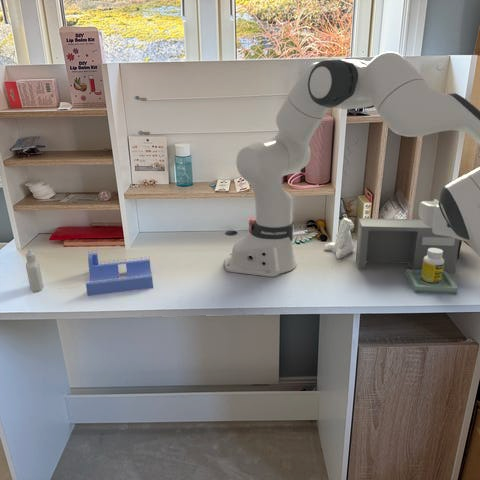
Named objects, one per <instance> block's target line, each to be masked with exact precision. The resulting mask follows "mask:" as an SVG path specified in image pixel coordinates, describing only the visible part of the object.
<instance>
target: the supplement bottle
mask: <svg viewBox="0 0 480 480" xmlns="http://www.w3.org/2000/svg"><path fill="white" fill-rule="evenodd" d="M442 256H443V250H441V249H438V248H429V249H428V251H427V255H426V256H425V257H424V259H423V266H422V272H421V282H422V283H424V284H426V285H436V286H437V285H439V284H440V283H441V278H442V272H443V266H444V259H443V258H442Z"/></svg>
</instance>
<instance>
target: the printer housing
mask: <svg viewBox="0 0 480 480" xmlns="http://www.w3.org/2000/svg"><path fill="white" fill-rule="evenodd" d="M357 227H358V229H357V238H356V239H357V240H356V241H357V242H356V252H355V263H356V265H357V269H358V270H360V271H361V270H364V271H365V270H366V265H367V263H368V262H369V263H370V262H371V263H372V262H373V263H395V264H396V263H399V264H408V265H409V268H410V270H422V266H423V259H424V257H425V256H426V255H427V251H428V249H429V248H438V249H441V250H443V256H442V258H443V259H444V266H443V271H446V272H447V273H448V274H449V273H453V274H454V273H455V271H456V266H457V264H456V263H457V260H458V259H457V253H458V247H459V241H460V240H459V239H456V238H453V237H447V236H441V235H436V234H434V233H433V232H432V228H431V227H429V226H427V225H426V224H425V223H424V222H423V221H422V220H421V219H408V218H407V219H405V218H371V217H370V218H368V217H367V218H366V217H362V218H361V217H359V218H358V225H357Z"/></svg>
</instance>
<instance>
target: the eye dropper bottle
mask: <svg viewBox="0 0 480 480" xmlns="http://www.w3.org/2000/svg"><path fill="white" fill-rule="evenodd" d="M25 257H26V264H25V268H26V273H27V279H28V282H29V289H30V291H31V292H32V293H34V292H36V293H37V292H41V291H42V290H43V288H44V283H43V277H42V272H41V267H40V263H39V260H37V256H36V253H35V252H33V251H32V249H31V248H29V249H27V253H25Z"/></svg>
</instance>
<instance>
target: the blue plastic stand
mask: <svg viewBox="0 0 480 480" xmlns="http://www.w3.org/2000/svg"><path fill="white" fill-rule="evenodd" d="M97 251H98V250H97V249H96V250H95V252H94V250H91V251H87V254H88V256H87V262H88V272H89V281H87V280H85V288H86V293H87V294H86V295H87V297H89V296H95V295H96V296H97V295H98V296H99V295H106V294H115V293H123V292H124V293H125V292H131V291H140V290H146V289H147V290H148V289H154V283H153V282H154V281H153V275H152V269H151V262H150V261H151V259H150V257H148V258H147V257H140V259H139V257H136V258H132V257H131V258H128V260H127V259H124V258H123V259H121V260H120V261H119V260H115V259H114V260H112V259H111V260H108V261H102V263H100V261H99V257H98V256H99V255H98V252H97ZM119 265H125V266H126V267H125V268H126V269H125V270H126V277H120V271H119Z"/></svg>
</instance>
